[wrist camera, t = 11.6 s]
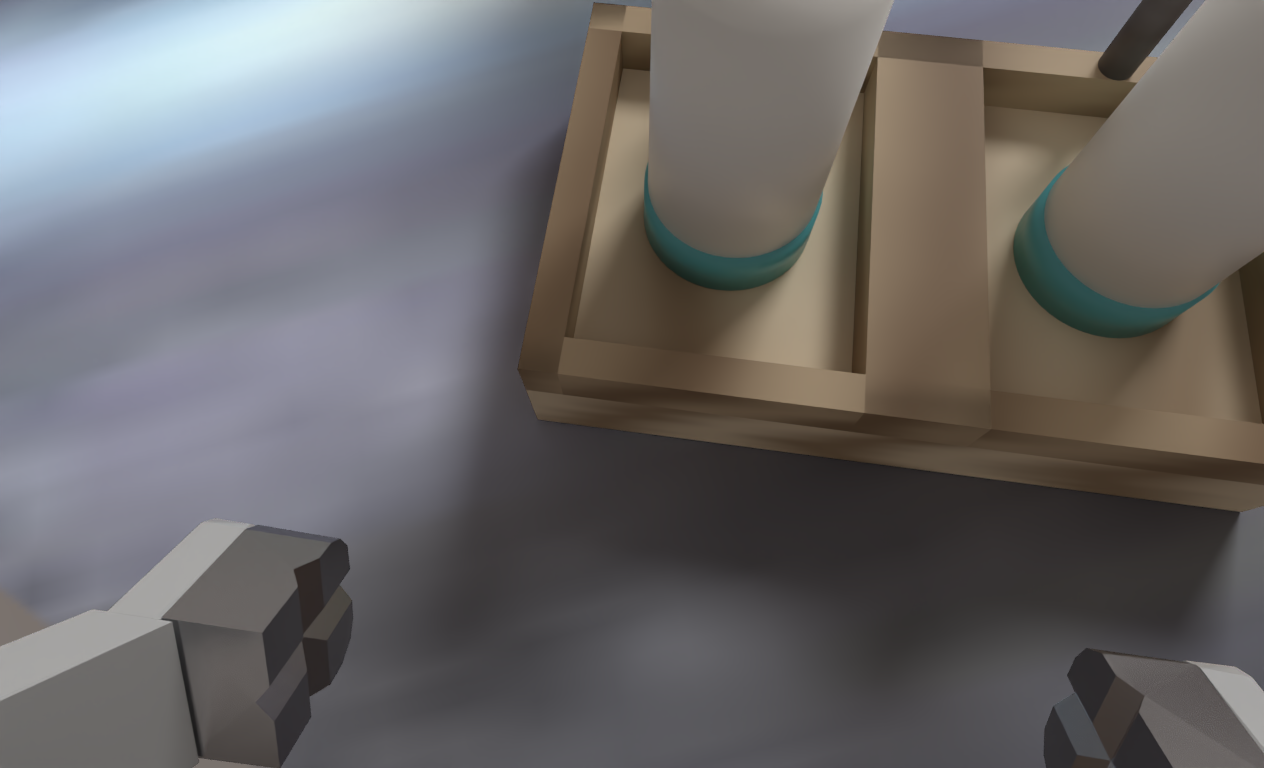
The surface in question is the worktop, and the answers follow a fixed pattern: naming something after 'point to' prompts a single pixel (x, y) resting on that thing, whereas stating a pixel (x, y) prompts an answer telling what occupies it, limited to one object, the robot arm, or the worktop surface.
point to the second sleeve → (1159, 187)
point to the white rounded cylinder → (748, 128)
